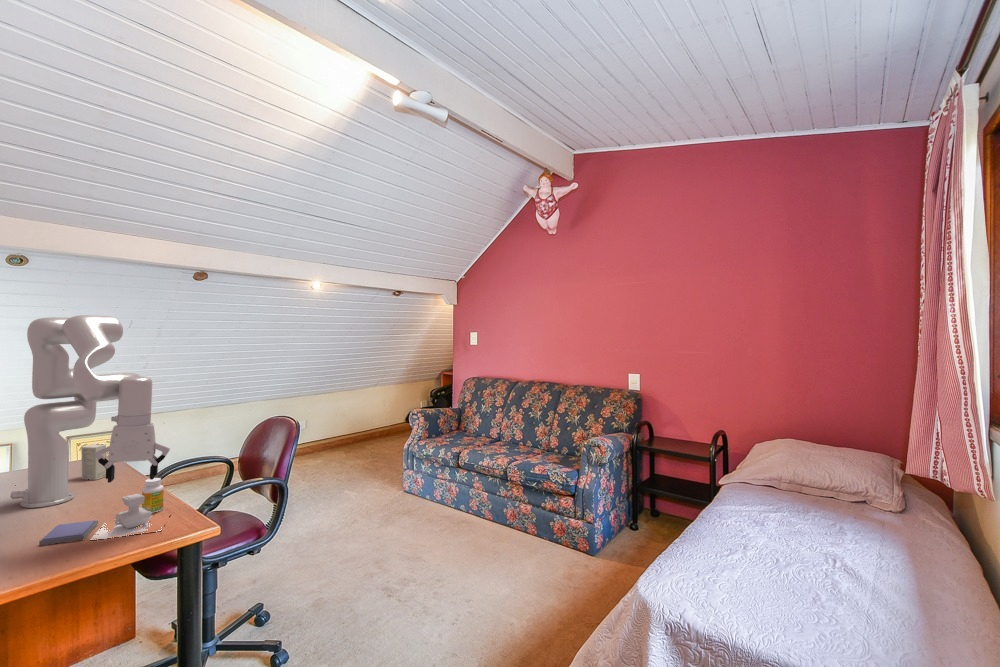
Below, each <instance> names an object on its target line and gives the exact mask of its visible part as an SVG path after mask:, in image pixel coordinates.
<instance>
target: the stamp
mask: <svg viewBox="0 0 1000 667" xmlns="http://www.w3.org/2000/svg"><path fill="white" fill-rule="evenodd" d="M144 499H145V496H143V495H142V494H140V493H138V492H137V493H134V494H129V495H126V496H122V497H121V501H122V503H123V504H124V505H125V506H126V507H128V510H125V511H120V512H118V513H116V514H115V517H114V520H116V521H115V522H114V524H115V525H122V526H124V527H125V528H127V529H130V528H133V527H137V526H140V525H143V524H146V522H147V521H148V520H149V519H150V518H151V517H152V516H153V515H152V514H153V513H152V512H151V511H147V510H145V509H143V508H142V504H143V503H144ZM140 505H141V507H140ZM117 522H118V523H117Z"/></svg>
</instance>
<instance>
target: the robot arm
mask: <svg viewBox="0 0 1000 667" xmlns="http://www.w3.org/2000/svg"><path fill="white" fill-rule="evenodd" d="M123 327H124V326H123V325H122V323H121V321H120V320H119V319H117V318H116V317H114V316H111V315H88V314H87V315H85V314H83V315H74V316H71V317H55V316H54V317H40V318H37V319H34V320H33V321H31V322H30V323H29V325H28V328H27V330H26V331H27V332H26V336H27V342H28V345H29V348H30V351H31V355H32V370H31V371H32V374H31V390H32V393H33V396H34V397H35V398H36V399H39V400H56V399H57V400H59V399H66V398H67V399H68V398H73V400H70V401H69V400H67V401H58V402H57V401H55V402H48V403H41V404H37V405H34V406H31V407H30V408H28V409H27V410H26V411H25V413H24V415H23V421H24V422H23V423H24V426H25V431H26V436H27V489H24V490H15V491H13V490H12V491H11V492H10V498H11V499H12V500H18V499H22V500H21V501H20V507H23V508H29V509H32V508H34V509H35V508H45V507H50V506H55V505H58V504H64V503H65V502H68V501H71V500H72V499H73V498H75V492H73V491H69V452H70V451H69V443H68V441H67V439H65V438H64V437H63V436H62V435H61V434H60V433H61V432H66V431H71V430H79V429H84V428H87V427H90V426H92V424H93V423H94V422H95V421H96V420H95V419H96V415H97V402H108V401H114V400H115V401H117V400H118V404H117V405H118V406H117V410H118V411H117V415H115V416H111V418H110V420H111V422H115V423H116V425H114V426H113V427H112V431H111V436H110V440H109V446H106V448H104V449H101V450H99V451H97V452H96V453H94V455H95V457H96V458H97V460H98V462H99V463H100V464H101V465H103V466H104V468H106V477H105V480H107V483H110V484H111V483H112V482H113V481H114V480H115V473H116V471H115V470H116V468H115V467H116V466H115V465H114V463H128V462H130V463H131V462H145V461H147V462H150V467H149V479H151V480H153V479H154V478H156V476H158V473H159V472H158V470H159V468H158V467H159V464H160V463H161V462H162V461H163V460H165V458H166V457H167V455H168V454H169V452H170V451H171V450H170V449H171V448H170V447H168V446H165V445H163V444H159V443H158V442H157V441H156V433H155V425H154V423H152V402H153V401H152V399H153V380H152V379H151V378H150V377H148V376H143V375H142V376H141V375H140V374H138V373H135V372H124V373H123V372H122V373H105V374H104V373H103V374H95V373H94V372H93V370H91V369H94V368H97V367H99V366H101V365H103V364H105V363H107V362H108V361H110V360H111V359H112V358H113V357H114V355H115V354H116V353H115V352H116V348H115V346H114V344H113V343H116V342H118V341H120V340H121V339H122V337H123V336H124V328H123ZM62 345H71V347H72V348H73V350H74V351H75V353H76V354H77V356H78V358H77V360H76V361H75V363H74V366H73V368H70V366H69V365H70V356H69V353H68V351H67V350H66V349H65V348H64V347H63V346H62ZM156 450H157V451H160V452H161V454H160V456H156V455H155V454H156ZM104 453H106V454H107V453H108V459H107V457H106V458H104V457H103V454H104Z"/></svg>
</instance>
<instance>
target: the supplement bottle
mask: <svg viewBox="0 0 1000 667" xmlns="http://www.w3.org/2000/svg"><path fill="white" fill-rule="evenodd" d="M161 483H162V478H161V477H154V479H153V480H151V479H150V478H147V479H145V481H144V487H143V488H142V490H141V495H143V496H145V499H144V503H143V504H141V507H142V508H143V509H145V510H147V511H151V512H152V514H155V513H154V512H157V513H159V512H161V511H163V510H164V491H165V490H164V489H165V488H164V487H165V486H164V485H162V484H161ZM162 509H163V510H162ZM158 511H159V512H158Z"/></svg>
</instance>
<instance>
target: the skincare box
mask: <svg viewBox="0 0 1000 667" xmlns="http://www.w3.org/2000/svg"><path fill="white" fill-rule="evenodd" d="M106 447H107V445H106V444H93V443H92V444H88V445H83V446H81V448H80V450H81V480H88V479H89V480H91V481H96V480H100V479H103V478H106V468H104V466H103V465H101V464H100V463H99V462H98V460H97V458H96V457H95V455H94V453H96V452H97V451H99V450H101V449H104V448H106ZM103 457H104V458H106V459H107V452H106V453H104V454H103ZM89 480H88V481H89Z"/></svg>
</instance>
